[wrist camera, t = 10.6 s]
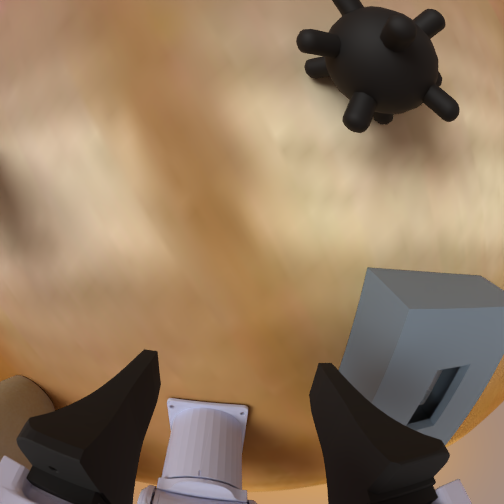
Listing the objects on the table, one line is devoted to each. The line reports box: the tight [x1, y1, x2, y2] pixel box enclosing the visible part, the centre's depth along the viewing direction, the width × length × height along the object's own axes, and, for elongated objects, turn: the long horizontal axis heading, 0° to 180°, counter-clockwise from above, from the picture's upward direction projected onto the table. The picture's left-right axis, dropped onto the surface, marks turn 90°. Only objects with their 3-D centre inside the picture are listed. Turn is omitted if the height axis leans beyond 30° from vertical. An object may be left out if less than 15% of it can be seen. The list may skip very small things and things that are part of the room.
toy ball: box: [296, 0, 459, 133], centre depth 13 cm, size 10×10×11 cm
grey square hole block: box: [339, 268, 504, 445], centre depth 22 cm, size 18×14×7 cm
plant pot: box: [0, 375, 55, 470], centre depth 19 cm, size 15×15×16 cm
